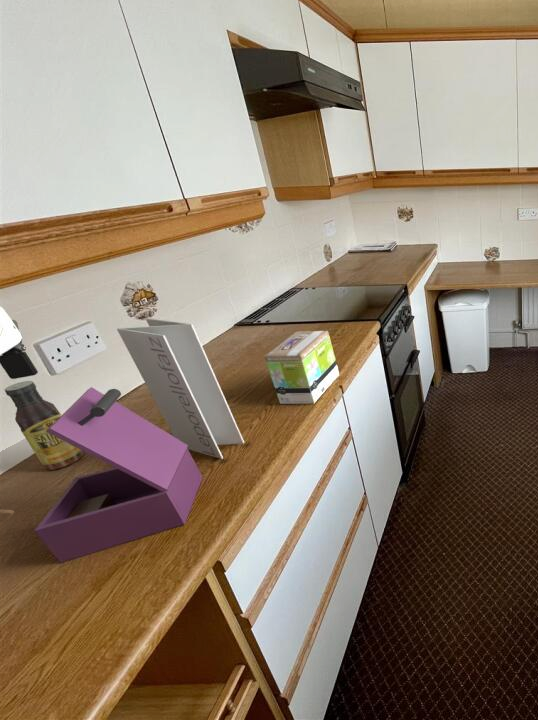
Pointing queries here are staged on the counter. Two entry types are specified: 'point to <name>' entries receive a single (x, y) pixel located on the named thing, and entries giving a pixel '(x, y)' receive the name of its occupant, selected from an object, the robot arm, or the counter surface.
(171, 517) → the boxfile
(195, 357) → the brochure
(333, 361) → the tea box
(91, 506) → the block
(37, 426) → the sauce bottle
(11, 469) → the counter surface
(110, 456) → the file lid
